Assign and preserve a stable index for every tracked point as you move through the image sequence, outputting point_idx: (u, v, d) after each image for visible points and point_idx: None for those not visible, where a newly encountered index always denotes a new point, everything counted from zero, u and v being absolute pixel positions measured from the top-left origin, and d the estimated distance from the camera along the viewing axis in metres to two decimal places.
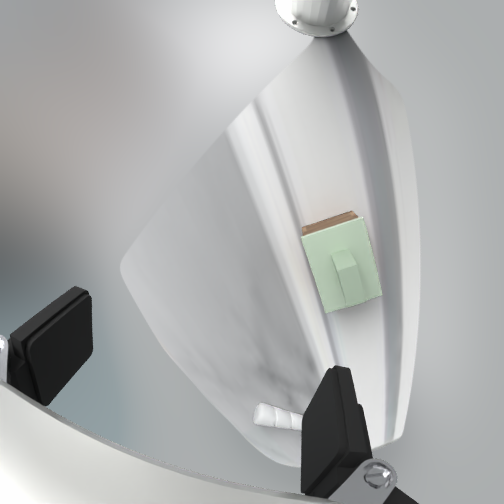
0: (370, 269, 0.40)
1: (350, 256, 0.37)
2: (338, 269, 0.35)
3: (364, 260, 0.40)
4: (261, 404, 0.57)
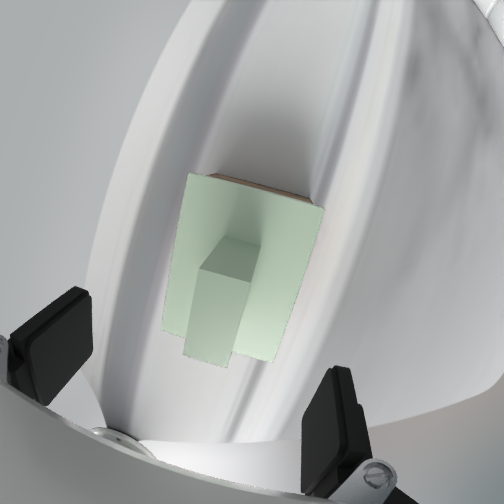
0: (187, 243, 0.20)
1: None
2: None
3: (191, 267, 0.20)
4: None
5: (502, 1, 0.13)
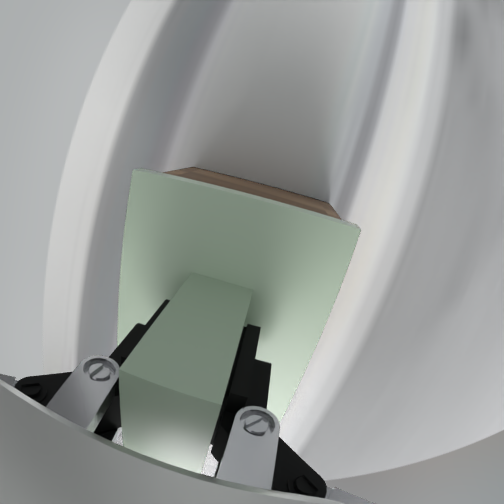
0: (137, 281, 0.12)
1: None
2: None
3: (146, 316, 0.13)
4: None
5: None
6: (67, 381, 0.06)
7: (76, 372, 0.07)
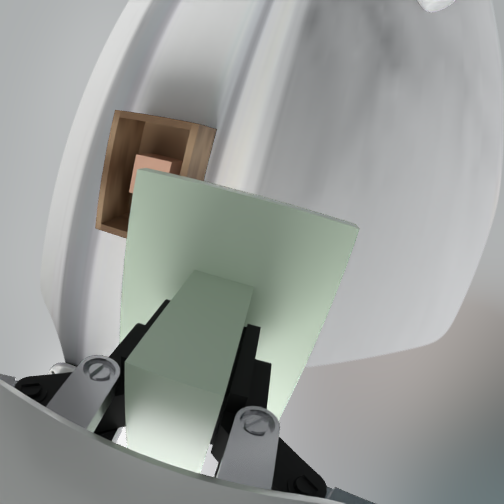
0: (141, 278, 0.13)
1: None
2: None
3: (149, 312, 0.13)
4: (426, 9, 0.20)
5: None
6: (67, 381, 0.06)
7: (76, 372, 0.07)
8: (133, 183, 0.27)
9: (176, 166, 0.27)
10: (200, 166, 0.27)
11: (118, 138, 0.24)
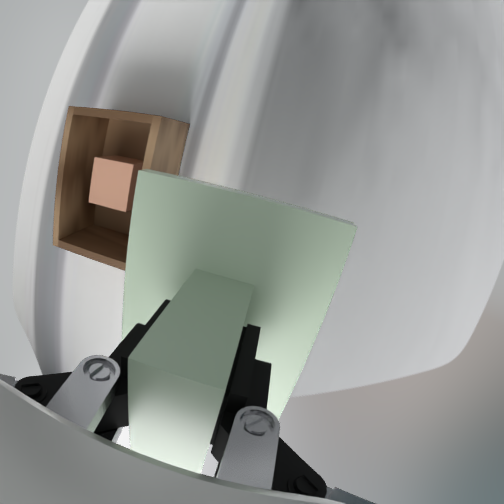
0: (142, 277, 0.13)
1: None
2: None
3: (150, 311, 0.13)
4: None
5: None
6: (67, 381, 0.06)
7: (76, 372, 0.07)
8: (92, 191, 0.22)
9: (141, 169, 0.22)
10: (168, 168, 0.22)
11: (73, 139, 0.19)
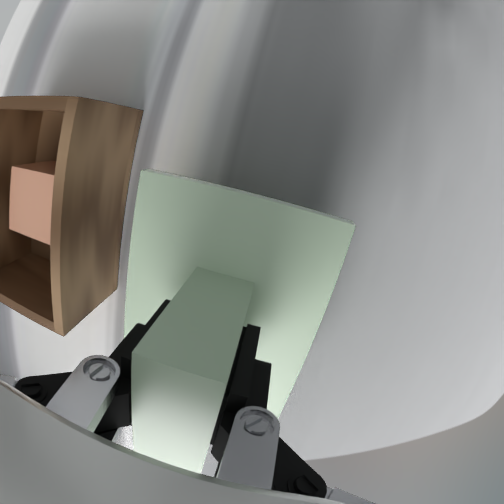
0: (145, 275, 0.13)
1: None
2: None
3: (152, 309, 0.13)
4: None
5: None
6: (67, 381, 0.06)
7: (76, 372, 0.07)
8: (12, 214, 0.13)
9: None
10: (106, 178, 0.14)
11: None
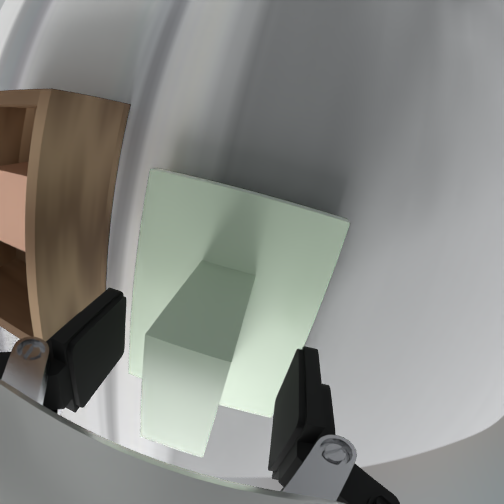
0: (152, 268, 0.14)
1: None
2: None
3: (159, 300, 0.14)
4: None
5: None
6: (7, 367, 0.06)
7: (12, 357, 0.06)
8: None
9: None
10: (87, 179, 0.12)
11: None
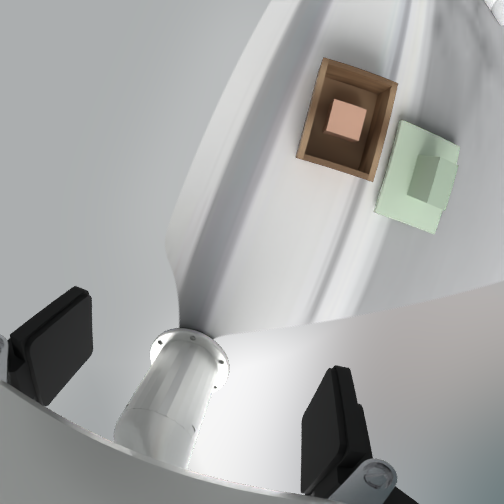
0: (399, 157, 0.32)
1: (417, 199, 0.30)
2: (442, 209, 0.27)
3: (400, 171, 0.32)
4: (502, 23, 0.23)
5: None
6: None
7: None
8: (331, 123, 0.30)
9: None
10: None
11: None
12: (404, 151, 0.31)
